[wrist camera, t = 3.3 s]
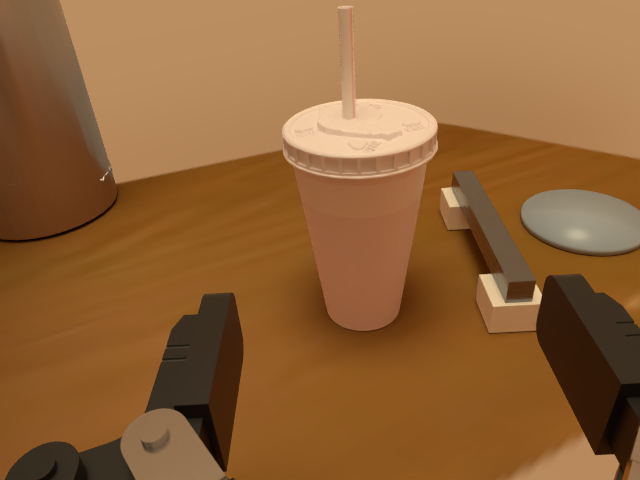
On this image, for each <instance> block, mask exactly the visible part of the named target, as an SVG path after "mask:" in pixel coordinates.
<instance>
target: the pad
mask: <svg viewBox="0 0 640 480" xmlns="http://www.w3.org/2000/svg"><path fill="white" fill-rule="evenodd" d="M521 221H522V224H523V226H524V227H525V228H526V230H527V231H528V232H529V233H530V234H532V235H533V236H534V237H536V238H537V239H539V240H540V241H542V242H544V243H546V244H548V245H550V246H553V247H556V248H558V249H562V250H565V251H569V252H573V253H578V254H583V255H592V256H612V255H620V254H625V253H629V252H632V251H634V250H636V249H638V248H640V211H639V210H638V209H637V208H635V207H634V206H632V205H630V204H628V203H627V202H624V201H622V200H620V199H617V198H615V197H612V196H609V195H605V194H601V193H597V192H592V191H585V190H575V189H561V190H551V191H546V192H542V193H539V194H536V195H534V196H532V197H530V198H529V199H528V200H527V201H526V202H525V203H524V204H523V206H522V210H521Z"/></svg>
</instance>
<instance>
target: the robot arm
mask: <svg viewBox="0 0 640 480" xmlns="http://www.w3.org/2000/svg"><path fill="white" fill-rule="evenodd" d="M117 193H118V192H117V187H116V184H115V180H114V177H113V174H112V168H111V165H110V162H109V160H108V158H107V154H106V151H105V148H104V145H103V141H102V138H101V134H100V131H99V128H98V125H97V121H96V118H95V115H94V112H93V108H92V105H91V102H90V99H89V95H88V92H87V89H86V86H85V83H84V79H83V76H82V73H81V69H80V66H79V63H78V60H77V56H76V53H75V50H74V46H73V44H72V40H71V37H70V33H69V30H68V27H67V24H66V20H65V17H64V14H63V11H62V8H61V4H60V1H59V0H0V239H3V240H25V239H34V238H40V237H45V236H50V235H53V234H57V233H61V232H64V231H67V230H70V229H72V228H75V227H77V226H80V225H82V224H84V223H86V222H88V221H90V220H92V219H94V218H95V217H97V216H98V215H100V214H101V213H103V212H104V211H105V210H106V209H108V208H109V207H110V206H111V205H112V203H113V202H114V201H115V199H116V196H117ZM536 332H537V338H538V341H539V344H540V346H541V348H542V350H543V352H544V354H545V356H546V358H547V360H548V362H549V364H550V366H551V368H552V370H553V372H554V374H555V376H556V378H557V380H558V382H559V384H560V386H561V388H562V390H563V392H564V394H565V396H566V398H567V400H568V402H569V404H570V406H571V408H572V410H573V412H574V414H575V416H576V418H577V420H578V422H579V424H580V426H581V428H582V430H583V432H584V434H585V436H586V438H587V440H588V442H589V443H590V446H591V448H592V449H593V451H594V453H595V455H605V454H615V456H616V458H617V460H618V462H619V463H620V464H619V466H618V469H617V471H616V474H615V478H614V480H640V329H639V327H638V326H637V325H636V324H634V321H633V319H632V318H631V317H630V315H629V314H628V313H627V311H626V310H625V309H624V307H623V306H622V305H621V304H619V303H618V302H616V301H615V300H613V299H612V298H611V297H609V296H608V295H606V294H605V293H595V292H594V291H593V289H592V288H591V286H590V285H589V284H588V282H587V281H586V279H585V278H584V277H583V276H582V275H581V274H568V275H550V276H548V277H547V278H546V280H545V284H544V288H543V293H542V297H541V302H540V306H539V311H538V316H537V321H536ZM242 363H243V337H242V331H241V326H240V321H239V316H238V311H237V306H236V300H235V296H234V294H233V293H218V294H204V295H203V298H202V301H201V305H200V308H199V312H198V314H196V315H184V316H183V317H182V318H181V319H180V321H179V322H178V323H177V324H176V325H175V326H174V328H173V329H172V330H171V333H170V336H169V339H168V343H167V349H165V352H164V355H163V358H162V362H161V364H160V367H159V371H158V374H157V377H156V380H155V383H154V386H153V389H152V392H151V395H150V399H149V402H148V405H147V408H146V411H145V413H144V414H143V415H141V416H139V417H138V418H136V419H135V420H134V421H133V422H132V423H131V424H130V425H129V426H128V427H127V429H126V430H125V432H124V434H123V436H122V437H121V438H119V439H117V440H115V441H112V442H110V443H107V444H104V445H101V446H98V447H95V448H92V449H89V450H86V451H83V452H80V453H78V452H77V450H76V449H75V448H74V446H72V445H71V444H69V443H66V442H50V443H46V444H42V445H40V446H38V447H35V448H34V449H32V450H30V451H29V452H27V453H26V454H24V455H23V456H22V457H21V458H20V459H19V460H18V461H17V462H16V463H15V464H14V465H13V466H12V468H11V469H10V470H9V472H8V474H7V476H6V478H5V480H229V479H228V478H227V477H226V475H225V474H224V472H226V471H227V464H228V458H229V451H230V444H231V437H232V430H233V424H234V417H235V410H236V403H237V397H238V390H239V383H240V376H241V369H242ZM230 480H235V479H233V478H232V479H230Z"/></svg>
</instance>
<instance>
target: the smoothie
mask: <svg viewBox="0 0 640 480" xmlns="http://www.w3.org/2000/svg"><path fill="white" fill-rule="evenodd" d="M338 14H339V15H338V16H339V39H340V40H339V41H340V66H341V89H342V101H334V102H330V103H325V104H320V105H317V106H314V107H310V108H308V109H306V110H303V111H301V112H299V113H297V114H296V115H294V116H292V117H291V118H290V119H289V120H288V121H287V122H286V123H285V125H284V126H283V129H282V136H283V144H284V145H283V155H284V157H285V158H286V160H287V161H288V163H289V164H291V165H292V166H294V170H295V175H296V180H297V184H298V189H299V194H300V197H301V201H302V205H303V210H304V214H305V218H306V222H307V227H308V231H309V235H310V240H311V244H312V248H313V252H314V257H315V261H316V265H317V270H318V274H319V278H320V283H321V287H322V291H323V295H324V300H325V304H326V308H327V312H328V315H329V316H330V318H331V319H332V320H333V321H334V322H335V323H337V324H338V325H340V326H342V327H344V328H347V329H350V330H356V331H371V330H376V329H379V328H382V327H384V326H386V325H388V324H390V323H391V322H392V321H393V320H394V319H395V318H396V317H397V315H398V313H399V310H400V304H401V299H402V294H403V289H404V283H405V278H406V273H407V267H408V262H409V257H410V251H411V246H412V241H413V235H414V230H415V225H416V219H417V214H418V209H419V203H420V198H421V193H422V189H423V183H424V177H425V171H426V165H427V162H428V161H430V160H431V159H432V157H433V156H434V155H435V153H436V152H437V150H438V141H437V122H436V120H435V118H434V117H433V116H432V115H431V114H429V113H428V112H427V111H425V110H423V109H421V108H419V107H417V106H414V105H411V104H407V103H403V102H398V101H391V100H382V99H356V96H355V58H354V20H353V7H352V6H341V7H338Z"/></svg>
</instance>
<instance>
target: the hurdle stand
mask: <svg viewBox="0 0 640 480" xmlns="http://www.w3.org/2000/svg"><path fill="white" fill-rule="evenodd" d="M440 212H441V215H442V217H443V220H444V222H445V224H446V227H447V229H448V230H457V229H470V227H469V225H468V223H467V221H466V219H465V217H464V214H463V212H462V210H461V208H460V206H459V204H458V202H457V199H456V197H455V195H454V193H453V191H452V188H441V201H440ZM541 297H542V294H541V292H540V291H539V289H538V287H537V285H535V290H534V295H533V299H532V302H517V303H505V302H504V299H503V297H502V295H501V293H500V291H499V289H498V287H497V285H496V282H495V280H494V278H493V276H492V274H479V279H478V286H477V294H476V302H477V304H478V307H479V309H480V312H481V314H482V317H483V319H484V322H485V324H486V327H487V329H488V332H489V333H500V332H519V331H536V321H537V316H538V311H539V306H540V302H541Z"/></svg>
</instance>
